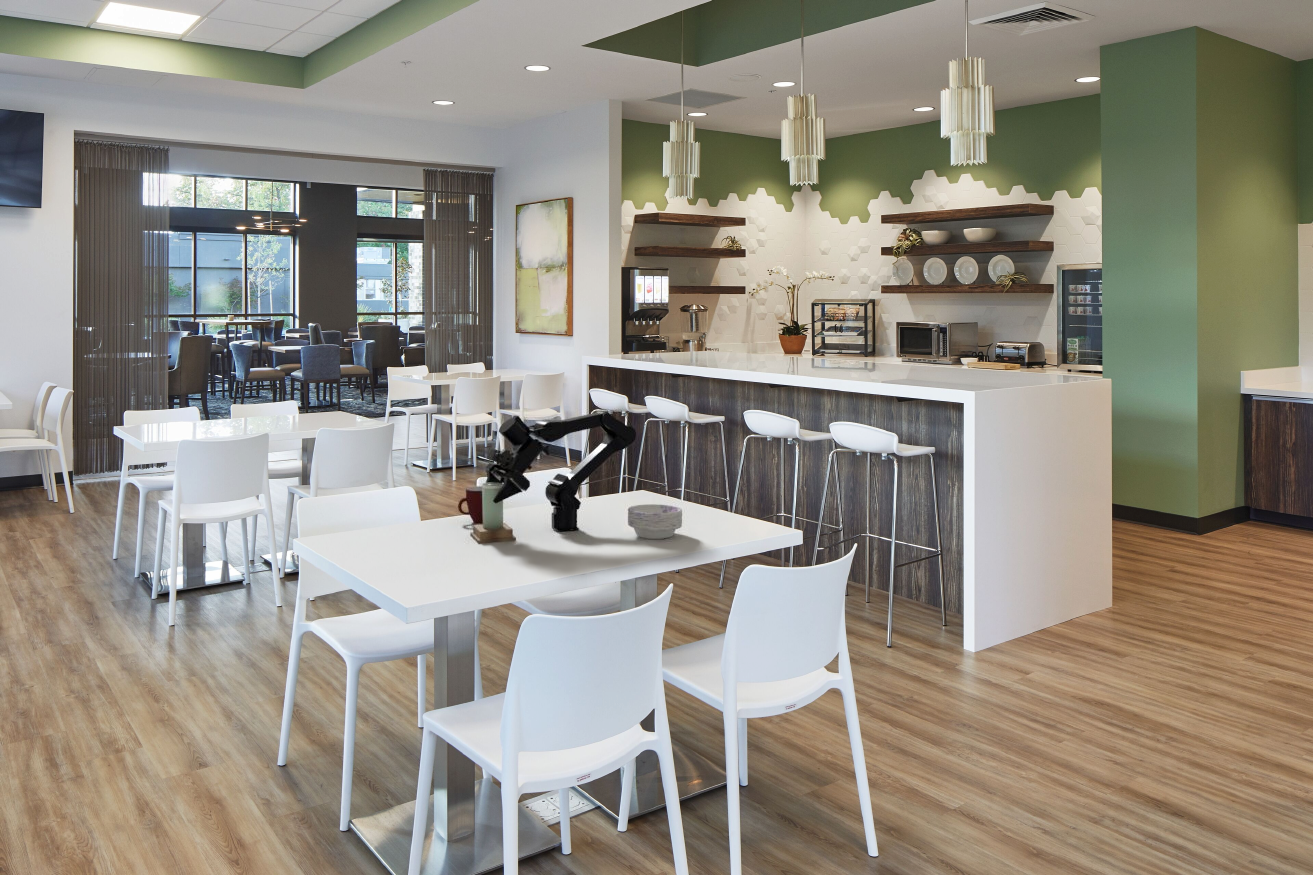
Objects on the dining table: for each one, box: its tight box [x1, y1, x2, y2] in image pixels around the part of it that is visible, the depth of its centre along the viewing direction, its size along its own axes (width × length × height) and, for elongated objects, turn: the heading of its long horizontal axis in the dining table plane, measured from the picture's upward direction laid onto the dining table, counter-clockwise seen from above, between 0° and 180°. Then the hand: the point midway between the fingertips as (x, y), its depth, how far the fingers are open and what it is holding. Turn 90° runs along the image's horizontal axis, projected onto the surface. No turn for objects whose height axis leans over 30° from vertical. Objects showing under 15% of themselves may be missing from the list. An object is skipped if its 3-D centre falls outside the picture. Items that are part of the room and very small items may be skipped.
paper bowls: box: [627, 503, 683, 540], centre depth 278 cm, size 15×15×8 cm
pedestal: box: [470, 522, 517, 544], centre depth 275 cm, size 10×10×3 cm
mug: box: [457, 485, 483, 524], centre depth 294 cm, size 11×8×10 cm
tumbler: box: [481, 482, 504, 529], centre depth 274 cm, size 6×6×12 cm
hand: (487, 499), depth 273 cm, fingers open, 9 cm apart
